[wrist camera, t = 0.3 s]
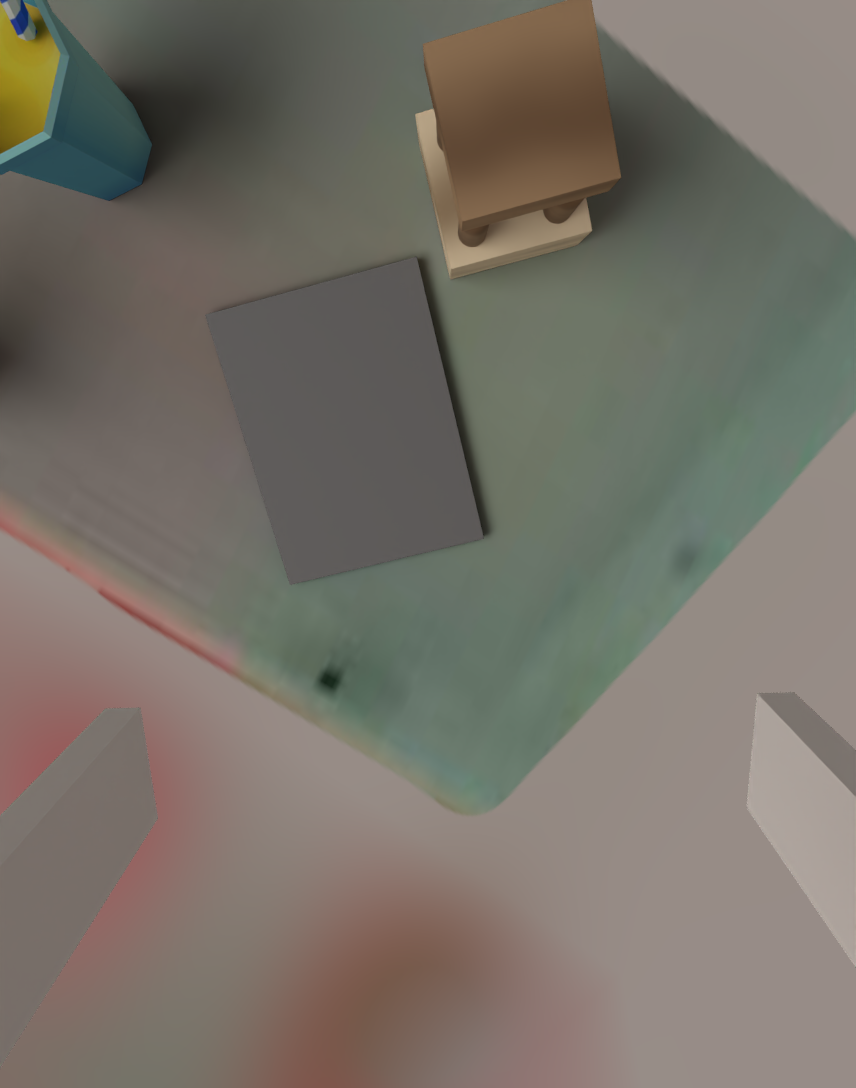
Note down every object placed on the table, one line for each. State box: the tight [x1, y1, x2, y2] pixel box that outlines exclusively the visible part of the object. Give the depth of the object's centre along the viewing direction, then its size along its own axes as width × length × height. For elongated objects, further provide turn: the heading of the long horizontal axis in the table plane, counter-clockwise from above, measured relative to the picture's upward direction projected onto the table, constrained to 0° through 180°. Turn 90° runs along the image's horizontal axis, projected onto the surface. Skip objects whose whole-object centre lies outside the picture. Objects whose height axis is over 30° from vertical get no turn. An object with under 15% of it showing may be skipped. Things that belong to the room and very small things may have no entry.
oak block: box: [415, 109, 592, 280], centre depth 34 cm, size 7×7×4 cm
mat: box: [205, 257, 484, 585], centre depth 39 cm, size 16×12×1 cm
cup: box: [0, 0, 152, 201], centre depth 29 cm, size 14×8×15 cm, turn 136°
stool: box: [423, 0, 621, 247], centre depth 29 cm, size 6×6×8 cm
